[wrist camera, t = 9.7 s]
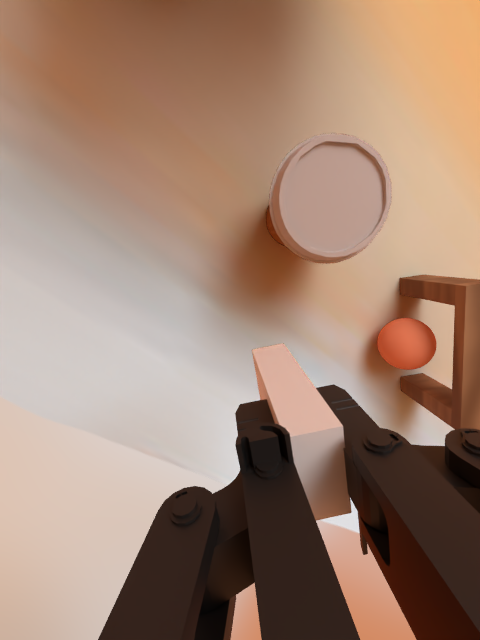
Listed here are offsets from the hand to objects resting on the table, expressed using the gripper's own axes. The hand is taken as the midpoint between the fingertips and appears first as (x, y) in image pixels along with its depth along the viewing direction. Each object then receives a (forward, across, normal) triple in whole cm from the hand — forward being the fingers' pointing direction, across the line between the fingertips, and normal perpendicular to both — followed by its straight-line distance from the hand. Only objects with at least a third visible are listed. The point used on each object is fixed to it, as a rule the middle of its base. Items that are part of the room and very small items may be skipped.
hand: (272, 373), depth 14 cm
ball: (+19, +18, -8) cm, 27 cm away
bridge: (+22, +21, -9) cm, 31 cm away
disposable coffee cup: (+22, +8, +8) cm, 25 cm away
